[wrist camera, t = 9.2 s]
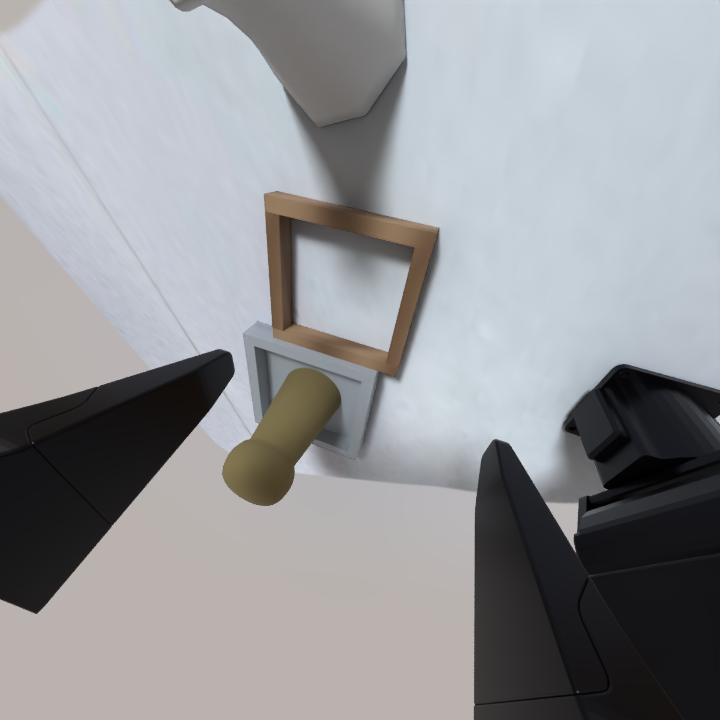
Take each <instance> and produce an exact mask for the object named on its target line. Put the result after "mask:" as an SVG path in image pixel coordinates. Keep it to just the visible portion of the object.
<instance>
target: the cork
mask: <svg viewBox="0 0 720 720" xmlns="http://www.w3.org/2000/svg"><path fill="white" fill-rule="evenodd" d="M340 404H341V395H340V391H339V390H338V388H337V386H336V384H335V383H334V382H333V381H332V380H331V379H330V378H329V377H327V376H326V375H324V374H323V373H321V372H319V371H316V370H314V369H311V368H298V369H294V370H293V371H291V372H290V373H289V374H288V376H287V377H286V379H285V381H284V382H283V384H282V386H281V388H280V389H279V391H278V393H277V394H276V396H275V398H274V400H273V401H272V403H271V405H270V406H269V408H268V410H267V412H266V413H265V415H264V417H263V418H262V420H261V422H260V423H259V425H258V427H257V429H256V430H255V432H254V434H253V435H252V437H251V439H249V440H245V441H243V442H242V443H240V444H239V445H238V446H236V447H235V448H234V449H233V450H232V451H231V452H230V453H229V455H228V457H227V459H226V461H225V463H224V466H223V473H222V474H223V478H224V481H225V483H226V484H227V485H228V487H229V488H230V489H231V490H232V491H233V492H234V493H236V494H237V495H238V496H239V497H241V498H243V499H244V500H246V501H248V502H251V503H253V504H256V505H261V506H269V505H273V504H275V503H277V502H278V501H280V500H281V499H282V498H283V497H284V496H285V495H286V493H287V492H288V491H289V489H290V487H291V485H292V483H293V479H294V473H295V470H294V466H295V464H296V463H297V462H298V460H299V459H300V458H301V456H302V455H303V454H304V452H305V451H306V450H307V449H308V447H309V446H310V445H311V443H312V442H313V441H314V439H315V438H316V437H317V435H318V434H319V433H320V432H321V430H322V429H323V428H324V426H325V425H326V424H327V422H328V421H329V420H330V418H331V417H332V416H333V415H334V413H335V412H336V411H337V409H338V408H339V407H340Z"/></svg>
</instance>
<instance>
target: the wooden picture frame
mask: <svg viewBox="0 0 720 720" xmlns="http://www.w3.org/2000/svg"><path fill="white" fill-rule="evenodd" d="M264 201H265V217H266V233H267V249H268V265H269V280H270V296H271V312H272V328H273V338H276V339H279V340H282V341H285V342H289V343H292V344H295V345H298V346H301V347H304V348H307V349H310V350H313V351H317V352H320V353H323V354H326V355H329V356H332V357H335V358H338V359H341V360H345V361H348V362H351V363H354V364H357V365H360V366H363V367H366V368H369V369H373V370H376V371H379V372H382V373H385V374H388V375H391V376H394V377H395V376H396V373H397V371H398V368H399V365H400V361H401V358H402V355H403V351H404V348H405V344H406V341H407V337H408V334H409V330H410V327H411V324H412V320H413V317H414V313H415V310H416V306H417V303H418V299H419V296H420V292H421V289H422V286H423V282H424V279H425V275H426V272H427V268H428V265H429V261H430V258H431V255H432V251H433V248H434V244H435V241H436V237H437V234H438V230H439V228H437V227H433V226H428V225H424V224H419V223H415V222H411V221H406V220H402V219H397V218H393V217H389V216H384V215H380V214H375V213H371V212H366V211H362V210H358V209H353V208H349V207H344V206H340V205H336V204H331V203H327V202H322V201H318V200H314V199H309V198H305V197H300V196H296V195H291V194H287V193H283V192H278V191H275V192H271V193H266V194H264ZM291 218H295V219H299V220H303V221H307V222H311V223H316V224H320V225H324V226H328V227H332V228H336V229H340V230H345V231H349V232H353V233H357V234H361V235H365V236H369V237H374V238H378V239H382V240H386V241H390V242H394V243H398V244H403V245H407V246H411V247H415V248H414V252H413V256H412V260H411V264H410V268H409V272H408V276H407V280H406V284H405V288H404V292H403V296H402V300H401V304H400V308H399V312H398V316H397V320H396V324H395V328H394V332H393V336H392V340H391V344H390V348H389V352H385V351H382V350H378V349H375V348H372V347H369V346H365V345H362V344H359V343H356V342H352V341H349V340H346V339H343V338H339V337H336V336H333V335H330V334H327V333H323V332H320V331H317V330H314V329H310V328H307V327H304V326H301V325H297V324H294V323H292V287H291Z"/></svg>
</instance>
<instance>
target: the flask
mask: <svg viewBox="0 0 720 720" xmlns="http://www.w3.org/2000/svg"><path fill="white" fill-rule="evenodd" d="M170 1H171V3H172V4H173V5H174V6H175V7H176V8H177V9H179V10H181V11H191V10H193V9H195V8H197V7H199V6H201V5H205V6H206V7H208V8H210V9H212V10H214V11H216V12H217V13H219V14H221V15H223V16H225V17H226V18H228V19H229V20H230V21H231V22H232V23H233V24H235V25H236V26H237V27H238V28H239V29H240V30H241V31H242V32H243V33H244V34H245V35H247V36H248V37H249V38H250V39H251V40H252V41H253V43H254V44H255V46H256V47H257V48H258V50H259V51H260V53H261V54H262V56H263V57H264V59H265V60H266V62H267V63H268V65H269V67H270V68H271V70H272V71H273V73H274V74H275V76H276V77H277V78H278V80H279V81H280V82H281V84H282V85H283V86H284V87H285V88H286V90H287V91H288V92H289V93H290V94H291V96H292V97H293V98H294V99H295V101H296V102H297V103H298V104H299V105H300V107H301V108H302V109H303V110H304V111H305V113H306V114H307V115H308V116H309V117H310V119H311V120H312V121H313V122H314V123H315V125H316V126H317V127H322V126H326V125H330V124H334V123H338V122H341V121H345V120H349V119H353V118H357V117H361V116H365V115H366V114H367V113H368V111H369V110H370V108H371V107H372V105H373V104H374V102H375V101H376V100H377V98H378V97H379V95H380V94H381V92H382V91H383V89H384V88H385V86H386V85H387V84H388V82H389V81H390V79H391V78H392V76H393V75H394V73H395V72H396V70H397V69H398V68H399V66H400V65H401V63H402V62H403V60H404V59H405V57H406V44H405V24H404V5H403V0H170Z"/></svg>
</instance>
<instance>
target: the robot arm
mask: <svg viewBox="0 0 720 720" xmlns="http://www.w3.org/2000/svg"><path fill="white" fill-rule="evenodd" d="M623 371H626V372H625V373H623V374H620V373H621V372H623ZM234 372H235V368H234V363H233V358H232V354H231V353H230V352H228V351H225V350H222V349H217V350H214V351H211V352H208V353H204V354H201V355H198V356H195V357H191V358H188V359H185V360H182V361H178V362H175V363H172V364H169V365H165V366H162V367H159V368H156V369H152V370H149V371H146V372H143V373H140V374H136V375H133V376H130V377H126V378H123V379H120V380H117V381H114V382H110V383H107V384H104V385H101V386H99V387H94V388H91V389H88V390H84V391H81V392H78V393H75V394H71V395H67V396H64V397H61V398H57V399H54V400H50V401H46V402H42V403H39V404H34V405H31V406H27V407H23V408H19V409H15V410H11V411H7V412H3V413H0V599H1V600H3V601H6V602H8V603H11V604H13V605H16V606H18V607H20V608H23V609H25V610H28V611H30V612H33V613H35V614H37V613H38V612H39V611H40V610H41V609H42V608H43V607H44V606H45V605H46V604H47V603H48V602H49V600H50V599H51V598H52V597H53V596H54V594H55V593H56V592H57V591H58V590H59V588H60V587H61V586H62V585H63V584H64V582H65V581H66V580H67V579H68V578H69V577H70V575H71V574H72V573H73V572H74V571H75V570H76V568H77V567H78V566H79V565H80V563H81V562H82V561H83V560H84V559H85V558H86V557H87V555H88V554H89V553H90V552H91V551H92V549H93V548H94V547H95V546H96V544H97V543H98V542H99V541H100V540H101V539H102V537H103V536H104V535H105V534H106V533H107V532H108V530H109V529H110V528H111V527H112V525H113V524H114V523H115V522H116V521H117V520H118V518H119V517H120V516H121V515H122V514H123V512H124V511H125V510H126V509H127V508H128V507H129V505H130V504H131V503H132V502H133V500H134V499H135V498H136V497H137V496H138V495H139V494H140V492H141V491H142V490H143V489H144V488H145V486H146V485H147V484H148V483H149V482H150V481H151V479H152V478H153V477H154V476H155V475H156V473H157V472H158V471H159V470H160V469H161V467H162V466H163V465H164V464H165V463H166V462H167V460H168V459H169V458H170V457H171V456H172V454H173V453H174V452H175V451H176V450H177V449H178V447H179V446H180V445H181V444H182V443H183V441H184V440H185V439H186V438H187V437H188V436H189V434H190V433H191V432H192V431H193V430H194V428H195V427H196V426H197V425H198V424H199V423H200V421H201V420H202V419H203V418H204V417H205V415H206V414H207V413H208V412H209V410H210V409H211V408H212V406H213V405H214V404H215V402H216V401H217V399H218V398H219V396H220V395H221V393H222V392H223V390H224V389H225V387H226V386H227V384H228V383H229V382H230V380H231V379H232V377H233V375H234ZM719 415H720V390H718V389H714V388H710V387H707V386H703V385H699V384H696V383H692V382H689V381H685V380H681V379H678V378H674V377H670V376H667V375H663V374H660V373H656V372H652V371H649V370H645V369H641V368H638V367H634V366H631V365H626V364H621V365H618V366H616V367H614V368H613V369H612V370H611V372H610V373H609V374H608V375H607V376H606V377H605V378H604V379H603V380H602V381H601V383H600V384H599V385H598V386H597V387H596V388H595V389H593V390H592V391H591V392H590V393H589V394H588V395H587V396H586V397H585V398H584V400H583V401H582V402H581V403H580V404H579V405H578V406H577V407H576V408H575V410H574V411H573V412H572V415H571V416H570V417H569V418H568V419H567V420H566V421H565V422H564V428H565V430H566V431H567V432H569V433H572V434H575V435H578V436H580V437H581V440H582V443H583V445H584V448H585V451H586V454H587V456H588V458H589V459H591V460H594V462H595V465H596V468H597V470H598V473H599V476H600V478H601V481H602V484H603V486H604V488H606V489H608V490H607V491H604V492H601V493H598V494H596V495H593V496H585V497H582V498H579V509H578V529H577V533H576V534H574V545H575V549H576V553H575V551H574V550H573V548H572V546H571V545H570V543H569V541H568V540H567V538H566V536H565V535H564V533H563V531H562V530H561V528H560V526H559V525H558V523H557V521H556V520H555V518H554V517H553V515H552V513H551V512H550V510H549V508H548V507H547V505H546V503H545V502H544V500H543V498H542V497H541V495H540V493H539V492H538V490H537V488H536V487H535V485H534V483H533V482H532V480H531V479H530V477H529V475H528V474H527V472H526V470H525V469H524V467H523V465H522V464H521V462H520V460H519V459H518V457H517V455H516V454H515V452H514V450H513V449H512V447H511V446H510V444H509V443H507V442H504V441H501V440H498V439H494V440H493V441H492V442H491V443H490V445H489V446H488V448H487V449H486V451H485V452H484V454H483V456H482V459H481V466H480V474H479V482H478V489H477V497H476V507H475V620H474V621H475V622H474V623H475V624H474V627H475V628H474V629H475V630H474V634H475V635H474V638H475V639H474V641H475V642H474V703H475V706H474V720H720V424H719V423H718V422H717V420H716V419H715V418H716V417H718V416H719ZM570 426H574V427H570ZM576 554H577V555H576Z"/></svg>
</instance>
